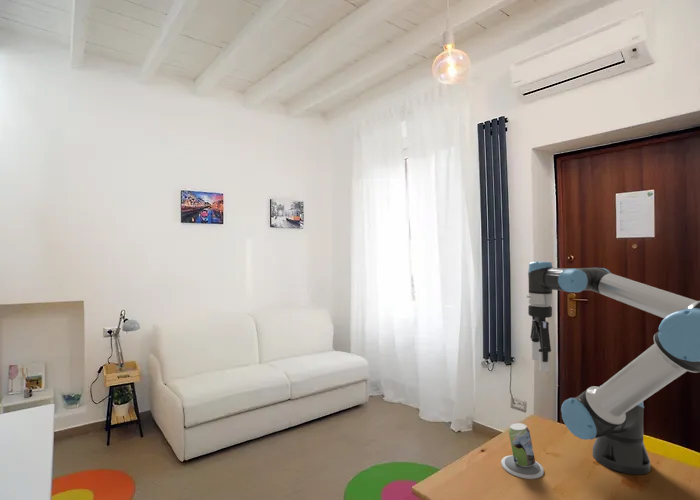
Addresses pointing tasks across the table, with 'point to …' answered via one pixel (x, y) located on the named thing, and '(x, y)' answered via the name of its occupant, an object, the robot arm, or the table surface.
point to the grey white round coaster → (522, 469)
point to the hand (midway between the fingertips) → (539, 365)
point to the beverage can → (521, 445)
